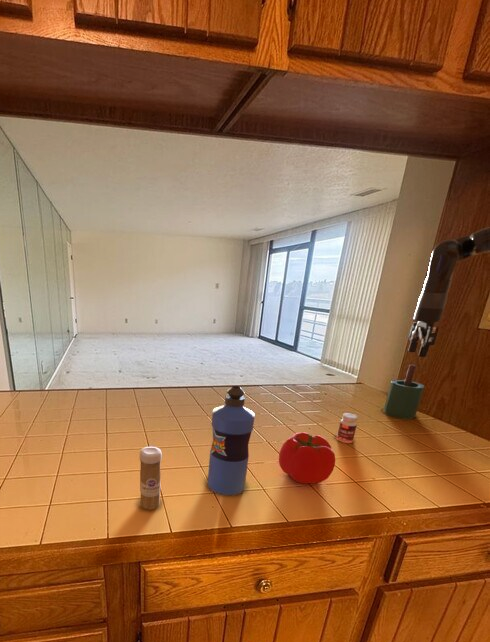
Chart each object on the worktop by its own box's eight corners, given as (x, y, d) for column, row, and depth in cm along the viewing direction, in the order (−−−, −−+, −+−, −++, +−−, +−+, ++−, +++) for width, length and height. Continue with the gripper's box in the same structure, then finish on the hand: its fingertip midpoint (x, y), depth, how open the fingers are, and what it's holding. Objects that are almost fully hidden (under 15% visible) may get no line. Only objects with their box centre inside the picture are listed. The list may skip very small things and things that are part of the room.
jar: (408, 410, 135) (417, 381, 130) (419, 420, 126) (429, 389, 121) (379, 408, 137) (387, 379, 132) (388, 417, 128) (397, 386, 123)
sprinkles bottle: (144, 512, 74) (144, 457, 69) (137, 500, 78) (136, 447, 73) (163, 507, 76) (165, 453, 71) (155, 496, 80) (156, 444, 75)
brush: (403, 410, 132) (417, 364, 125) (407, 414, 129) (422, 366, 122) (391, 409, 133) (404, 363, 126) (395, 413, 129) (409, 366, 122)
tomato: (282, 458, 97) (288, 424, 93) (333, 471, 91) (342, 435, 87) (269, 481, 87) (275, 443, 83) (326, 497, 80) (336, 458, 76)
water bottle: (219, 499, 79) (229, 396, 69) (200, 479, 87) (206, 383, 77) (253, 490, 82) (267, 391, 73) (231, 471, 90) (241, 379, 81)
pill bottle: (336, 441, 108) (342, 417, 105) (335, 435, 112) (341, 411, 109) (353, 444, 106) (359, 419, 103) (352, 438, 110) (358, 414, 107)
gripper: (454, 308, 109) (438, 359, 115) (433, 305, 122) (419, 351, 128) (427, 307, 111) (413, 358, 117) (409, 304, 123) (397, 349, 130)
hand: (416, 354), depth 122 cm, fingers open, 8 cm apart
